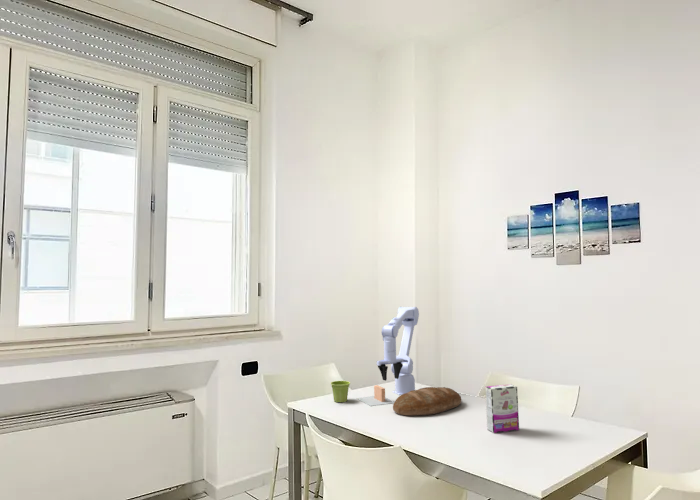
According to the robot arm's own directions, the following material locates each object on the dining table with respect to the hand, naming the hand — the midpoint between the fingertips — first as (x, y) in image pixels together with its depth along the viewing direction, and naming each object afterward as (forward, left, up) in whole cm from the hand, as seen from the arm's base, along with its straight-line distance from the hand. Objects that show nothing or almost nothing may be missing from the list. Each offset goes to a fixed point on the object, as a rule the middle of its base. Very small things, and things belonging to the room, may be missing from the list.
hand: (390, 379), depth 242 cm
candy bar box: (-16, +61, -10) cm, 64 cm away
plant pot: (+23, -7, -10) cm, 26 cm away
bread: (-8, +20, -10) cm, 24 cm away
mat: (+8, 0, -9) cm, 12 cm away
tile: (+6, 0, -9) cm, 11 cm away
